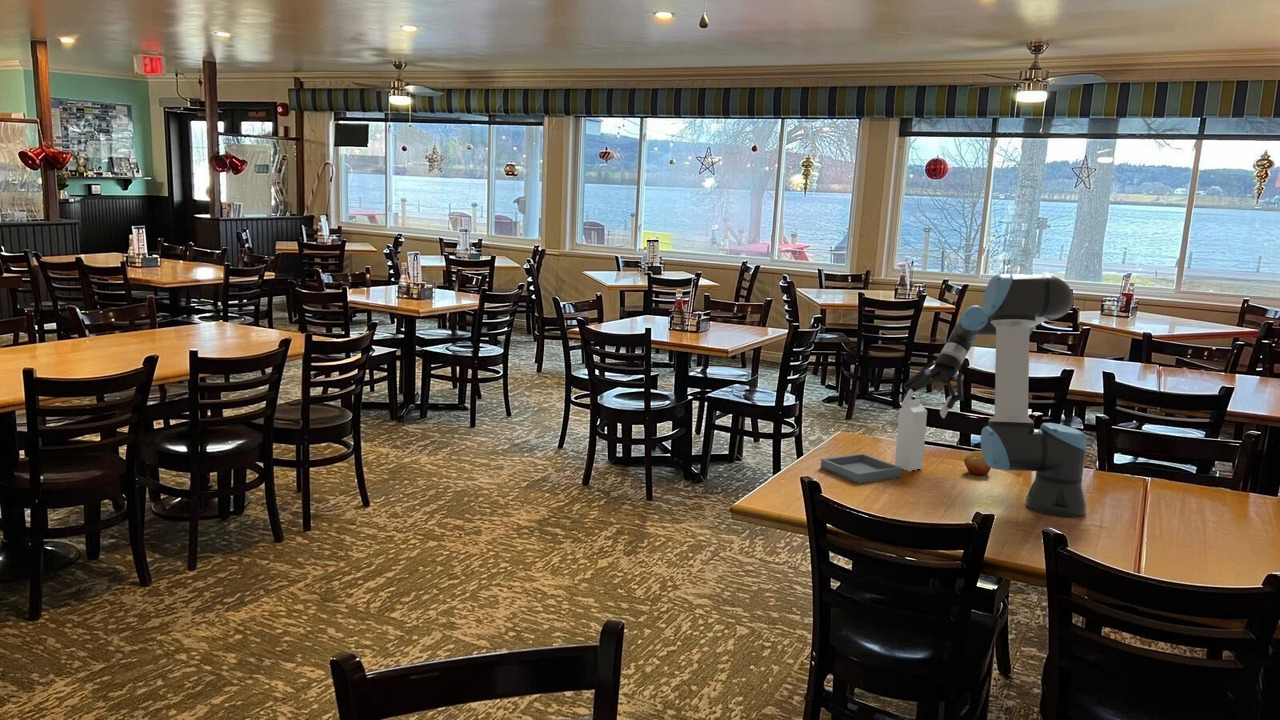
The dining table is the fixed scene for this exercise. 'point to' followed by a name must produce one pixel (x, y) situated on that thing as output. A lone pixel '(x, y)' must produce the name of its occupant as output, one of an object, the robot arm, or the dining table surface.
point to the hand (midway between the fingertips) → (922, 411)
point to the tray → (860, 468)
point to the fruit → (976, 463)
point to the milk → (911, 436)
